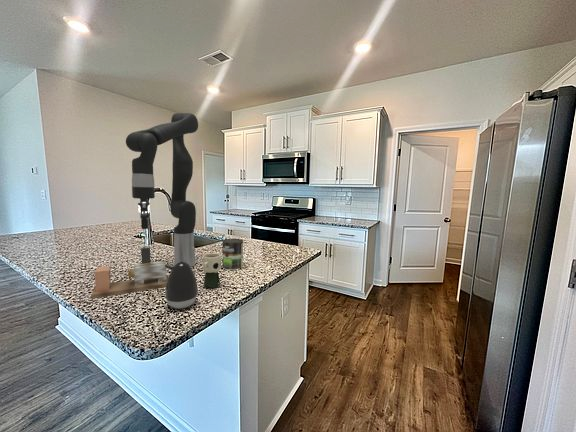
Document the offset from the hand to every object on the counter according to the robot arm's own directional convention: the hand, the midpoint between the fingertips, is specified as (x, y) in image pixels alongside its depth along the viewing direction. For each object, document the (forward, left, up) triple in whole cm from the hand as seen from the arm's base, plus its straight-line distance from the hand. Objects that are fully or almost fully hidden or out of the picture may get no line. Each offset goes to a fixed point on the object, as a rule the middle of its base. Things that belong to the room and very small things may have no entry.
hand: (144, 227), depth 97 cm
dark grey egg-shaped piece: (-10, +24, -24) cm, 35 cm away
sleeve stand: (+4, 0, -24) cm, 24 cm away
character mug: (-23, +12, -24) cm, 35 cm away
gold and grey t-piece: (-1, 0, -19) cm, 19 cm away
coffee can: (-38, -7, -24) cm, 46 cm away
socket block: (+14, 0, -22) cm, 26 cm away
